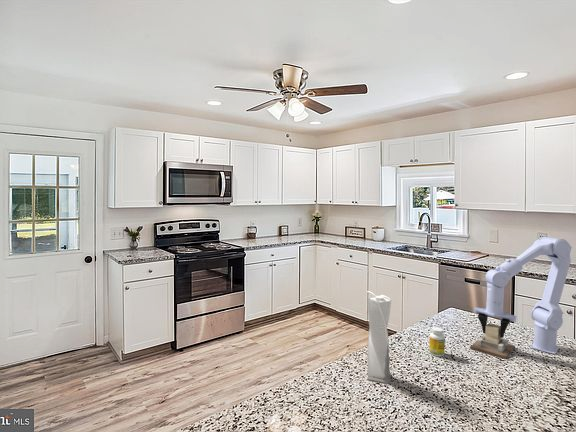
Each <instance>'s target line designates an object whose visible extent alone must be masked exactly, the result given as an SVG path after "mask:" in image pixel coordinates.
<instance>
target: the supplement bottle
mask: <svg viewBox="0 0 576 432" xmlns="http://www.w3.org/2000/svg"><path fill="white" fill-rule="evenodd" d="M445 345H446V336H445V335H444V329H443V328H442V327H437V326H434V327H432V328H431V333H430V334H429V345H428V346H429V348H428V352H429V354H430V355H432V356H434V357H439V358H440V357H443V356H444V355H445Z"/></svg>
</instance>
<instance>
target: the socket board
mask: <svg viewBox="0 0 576 432" xmlns="http://www.w3.org/2000/svg"><path fill="white" fill-rule="evenodd" d="M469 347H470V350H473V351H475V352H479V353H484V354H487V355H491V356H493V357H496V358H500V359H503V360H506V358H508V356H509V355H510V354H511V353H512V352H513V350H514V349H515V347H516V345H514V344H510V343H509V339H508V338H504V337H503V338H501V343H500V344H497V343H493V342H489V341H486V340H485V334H484V333H483V335H482V336H480V337H479V338H478V339H477V340H475V342H474V343H473V344H471V345H470V346H469Z"/></svg>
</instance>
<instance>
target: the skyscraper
mask: <svg viewBox="0 0 576 432" xmlns="http://www.w3.org/2000/svg"><path fill="white" fill-rule="evenodd" d="M366 294H367V311H368V313H367V314H368V315H367V316H368V327H369V330H368V339H367V377H366V378H367V379H366V380H367V381H370V382H375V383H381V384H386V385H390V384H391V378H392V372H391V370H390V361H391V356H390V346H389V344H390V343H389V333H388V325H389V320H390V314H391V308H392V307H391V306H392V305H391V304H392V299H391V298H390V297H389V296H386V295H384V294H380V295H376V294H375V293H374V292H372V291H370V290H367V291H366ZM369 294H372V296H374V297H370V295H369Z"/></svg>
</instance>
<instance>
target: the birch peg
mask: <svg viewBox="0 0 576 432" xmlns="http://www.w3.org/2000/svg"><path fill="white" fill-rule="evenodd" d="M500 333H501V325H498V324H494V323H487V325H486V330H485V340H486V341H489V342H493V343H497V344H500V343H501V338H500Z"/></svg>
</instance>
